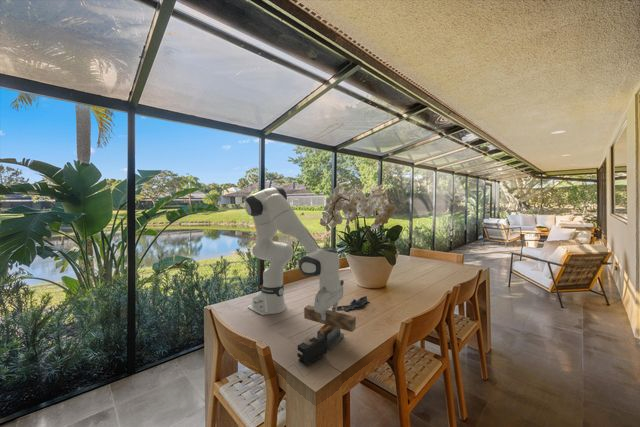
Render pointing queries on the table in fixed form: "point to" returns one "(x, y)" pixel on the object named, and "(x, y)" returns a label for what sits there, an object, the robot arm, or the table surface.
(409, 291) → the table surface
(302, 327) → the table surface
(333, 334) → the fulcrum stand
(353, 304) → the decorative bat
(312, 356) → the end cap
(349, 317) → the walnut beam
